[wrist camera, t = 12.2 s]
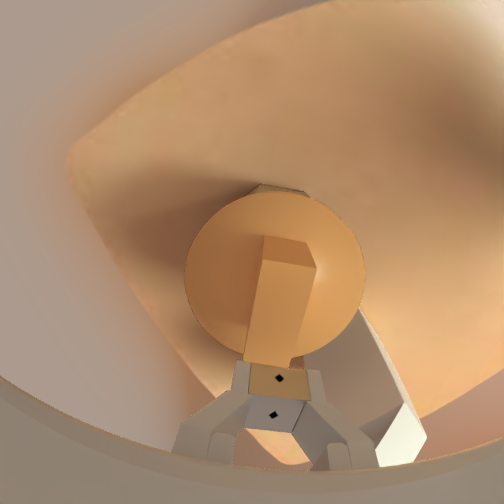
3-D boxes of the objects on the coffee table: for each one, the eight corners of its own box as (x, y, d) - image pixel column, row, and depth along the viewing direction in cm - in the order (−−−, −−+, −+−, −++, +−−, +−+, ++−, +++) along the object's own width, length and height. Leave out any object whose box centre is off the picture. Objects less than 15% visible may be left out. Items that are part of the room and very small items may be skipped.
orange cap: (369, 206, 18) (417, 232, 11) (328, 343, 22) (345, 407, 15) (206, 175, 18) (171, 185, 12) (190, 320, 22) (162, 381, 15)
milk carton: (354, 299, 29) (424, 447, 11) (381, 340, 31) (441, 472, 12) (299, 334, 31) (317, 493, 13) (331, 371, 32) (359, 510, 14)
